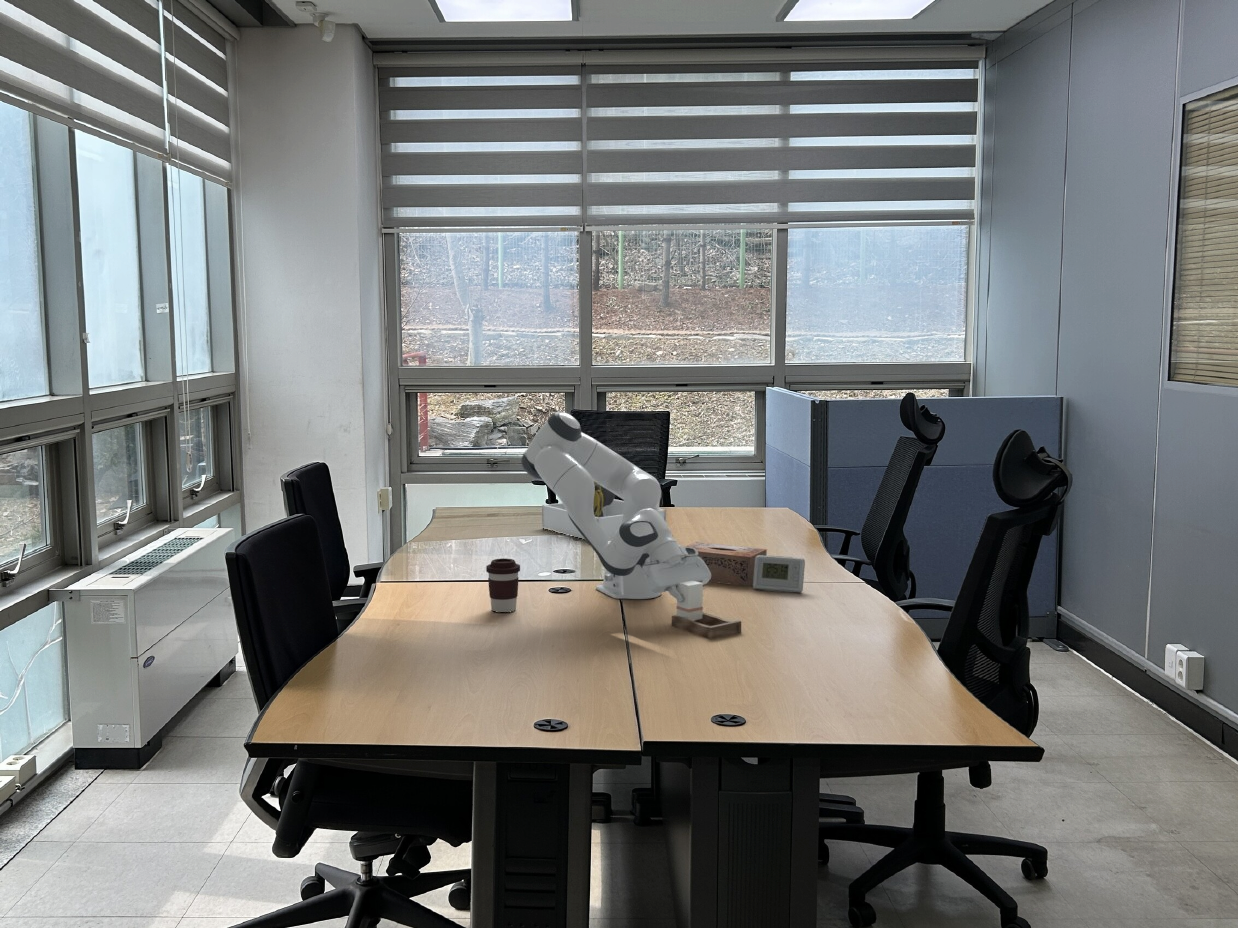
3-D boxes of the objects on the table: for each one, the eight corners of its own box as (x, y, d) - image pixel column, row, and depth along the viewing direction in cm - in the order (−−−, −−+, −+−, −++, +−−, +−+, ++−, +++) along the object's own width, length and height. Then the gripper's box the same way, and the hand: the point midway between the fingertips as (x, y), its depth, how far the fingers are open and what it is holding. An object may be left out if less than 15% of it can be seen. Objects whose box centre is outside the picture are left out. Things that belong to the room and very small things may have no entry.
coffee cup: (515, 615, 314) (514, 564, 312) (482, 613, 316) (481, 563, 314) (524, 607, 324) (524, 557, 322) (493, 605, 326) (492, 556, 324)
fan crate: (542, 528, 454) (542, 505, 453) (608, 520, 474) (608, 497, 473) (597, 543, 422) (597, 518, 421) (665, 533, 442) (665, 509, 441)
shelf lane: (669, 630, 298) (669, 614, 298) (699, 623, 305) (699, 608, 304) (710, 644, 285) (710, 627, 284) (741, 637, 291) (741, 621, 291)
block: (674, 617, 301) (674, 581, 300) (689, 614, 304) (689, 579, 303) (688, 621, 296) (688, 585, 295) (702, 618, 300) (703, 583, 298)
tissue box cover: (766, 578, 363) (766, 549, 362) (749, 587, 351) (750, 556, 349) (696, 570, 376) (696, 541, 374) (678, 578, 363) (678, 549, 362)
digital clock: (750, 589, 346) (750, 557, 345) (761, 584, 354) (761, 552, 353) (797, 596, 338) (798, 562, 337) (808, 590, 346) (809, 557, 344)
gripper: (644, 557, 297) (667, 598, 291) (700, 548, 310) (723, 588, 303) (634, 570, 301) (656, 611, 295) (690, 560, 314) (712, 600, 307)
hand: (691, 599), depth 299 cm, fingers closed on block, 5 cm apart
